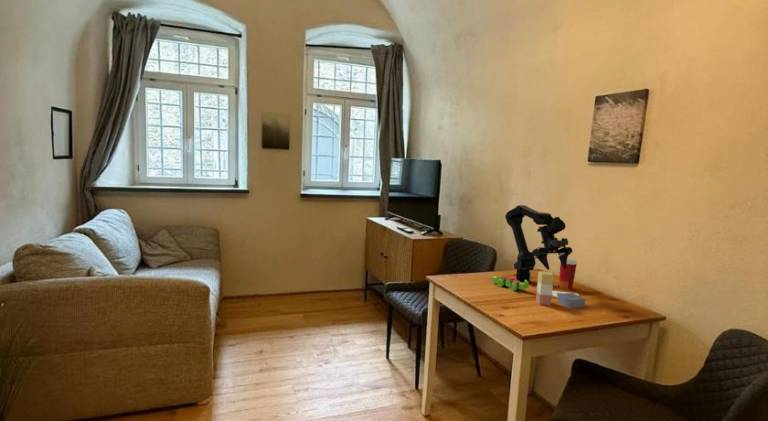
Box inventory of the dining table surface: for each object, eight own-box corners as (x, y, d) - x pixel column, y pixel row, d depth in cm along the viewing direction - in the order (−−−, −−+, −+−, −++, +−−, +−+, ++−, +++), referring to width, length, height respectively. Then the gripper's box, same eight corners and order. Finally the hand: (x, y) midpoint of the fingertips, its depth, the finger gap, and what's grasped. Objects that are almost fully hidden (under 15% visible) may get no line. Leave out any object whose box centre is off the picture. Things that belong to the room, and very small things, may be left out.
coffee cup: (571, 286, 215) (574, 258, 213) (576, 291, 207) (580, 262, 204) (554, 285, 215) (557, 256, 213) (559, 290, 207) (562, 261, 205)
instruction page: (552, 296, 197) (553, 295, 197) (551, 290, 206) (551, 290, 206) (580, 300, 194) (580, 299, 194) (577, 294, 202) (578, 293, 202)
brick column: (535, 300, 190) (538, 271, 188) (546, 301, 190) (550, 271, 188) (539, 304, 185) (542, 274, 183) (550, 305, 185) (553, 275, 183)
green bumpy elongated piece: (488, 283, 214) (489, 271, 213) (496, 281, 218) (497, 270, 217) (522, 294, 198) (523, 282, 198) (530, 292, 203) (531, 280, 202)
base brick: (557, 302, 191) (558, 293, 190) (571, 301, 193) (572, 292, 192) (569, 308, 183) (570, 300, 183) (584, 307, 185) (585, 299, 185)
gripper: (541, 232, 191) (550, 265, 185) (575, 231, 196) (585, 263, 190) (528, 240, 201) (535, 271, 195) (560, 239, 206) (569, 270, 200)
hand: (556, 269), depth 195 cm, fingers open, 9 cm apart
